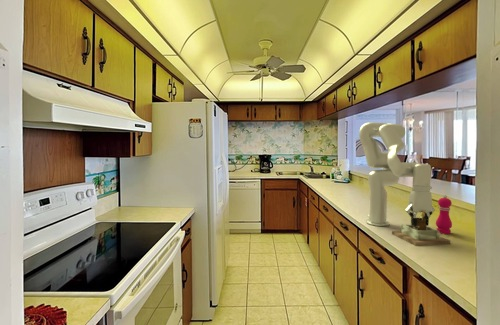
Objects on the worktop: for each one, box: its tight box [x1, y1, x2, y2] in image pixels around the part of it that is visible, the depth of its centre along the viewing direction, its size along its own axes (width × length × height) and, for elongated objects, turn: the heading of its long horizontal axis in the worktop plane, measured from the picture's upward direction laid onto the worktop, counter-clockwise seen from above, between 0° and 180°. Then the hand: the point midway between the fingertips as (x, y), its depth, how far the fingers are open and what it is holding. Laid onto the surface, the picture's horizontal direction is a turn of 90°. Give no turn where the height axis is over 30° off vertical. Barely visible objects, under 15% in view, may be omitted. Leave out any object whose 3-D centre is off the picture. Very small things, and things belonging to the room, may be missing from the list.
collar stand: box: [391, 224, 451, 246], centre depth 148 cm, size 18×18×6 cm
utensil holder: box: [413, 210, 426, 230], centre depth 148 cm, size 6×6×12 cm
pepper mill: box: [435, 194, 453, 235], centre depth 158 cm, size 7×7×20 cm
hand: (419, 224), depth 148 cm, fingers closed on utensil holder, 5 cm apart
